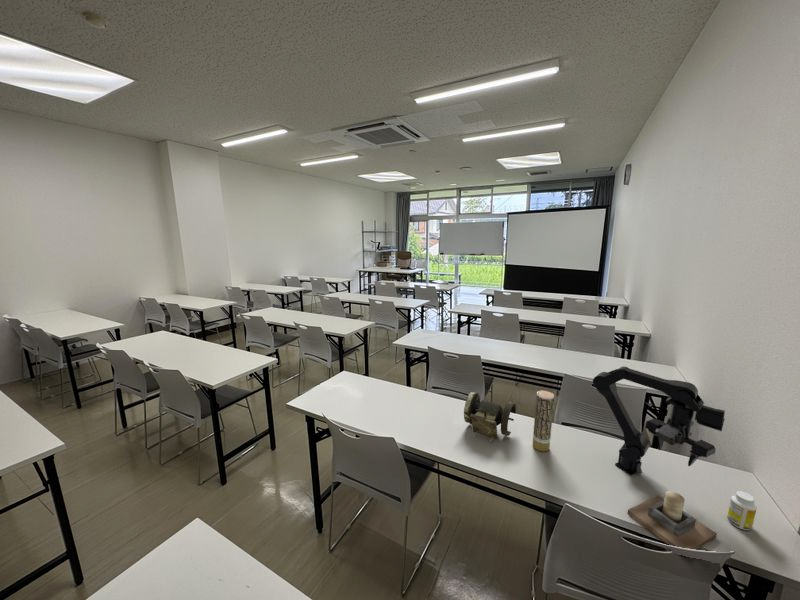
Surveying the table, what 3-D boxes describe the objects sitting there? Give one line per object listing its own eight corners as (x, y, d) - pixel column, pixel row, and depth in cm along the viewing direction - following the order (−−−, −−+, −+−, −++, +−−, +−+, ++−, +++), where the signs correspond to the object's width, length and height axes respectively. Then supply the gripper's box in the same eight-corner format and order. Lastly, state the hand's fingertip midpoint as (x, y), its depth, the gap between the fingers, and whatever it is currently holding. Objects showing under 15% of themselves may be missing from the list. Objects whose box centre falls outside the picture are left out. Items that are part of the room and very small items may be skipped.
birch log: (551, 453, 136) (556, 398, 131) (534, 451, 137) (538, 397, 132) (547, 443, 142) (552, 391, 137) (531, 441, 144) (535, 389, 139)
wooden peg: (658, 517, 103) (662, 493, 101) (666, 512, 104) (671, 489, 103) (674, 529, 99) (679, 504, 97) (683, 524, 100) (687, 499, 99)
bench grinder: (475, 406, 167) (468, 380, 156) (519, 417, 154) (515, 390, 144) (461, 440, 153) (453, 414, 143) (508, 455, 141) (502, 427, 131)
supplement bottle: (750, 523, 102) (757, 495, 100) (752, 534, 98) (759, 506, 96) (726, 513, 106) (732, 486, 104) (726, 523, 102) (733, 496, 100)
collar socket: (627, 513, 106) (629, 501, 105) (657, 498, 112) (659, 487, 111) (684, 557, 91) (687, 544, 91) (716, 537, 97) (718, 525, 96)
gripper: (638, 409, 118) (632, 447, 121) (700, 438, 101) (692, 481, 104) (657, 403, 122) (651, 440, 125) (720, 430, 105) (711, 472, 108)
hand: (674, 457), depth 115 cm, fingers open, 9 cm apart
